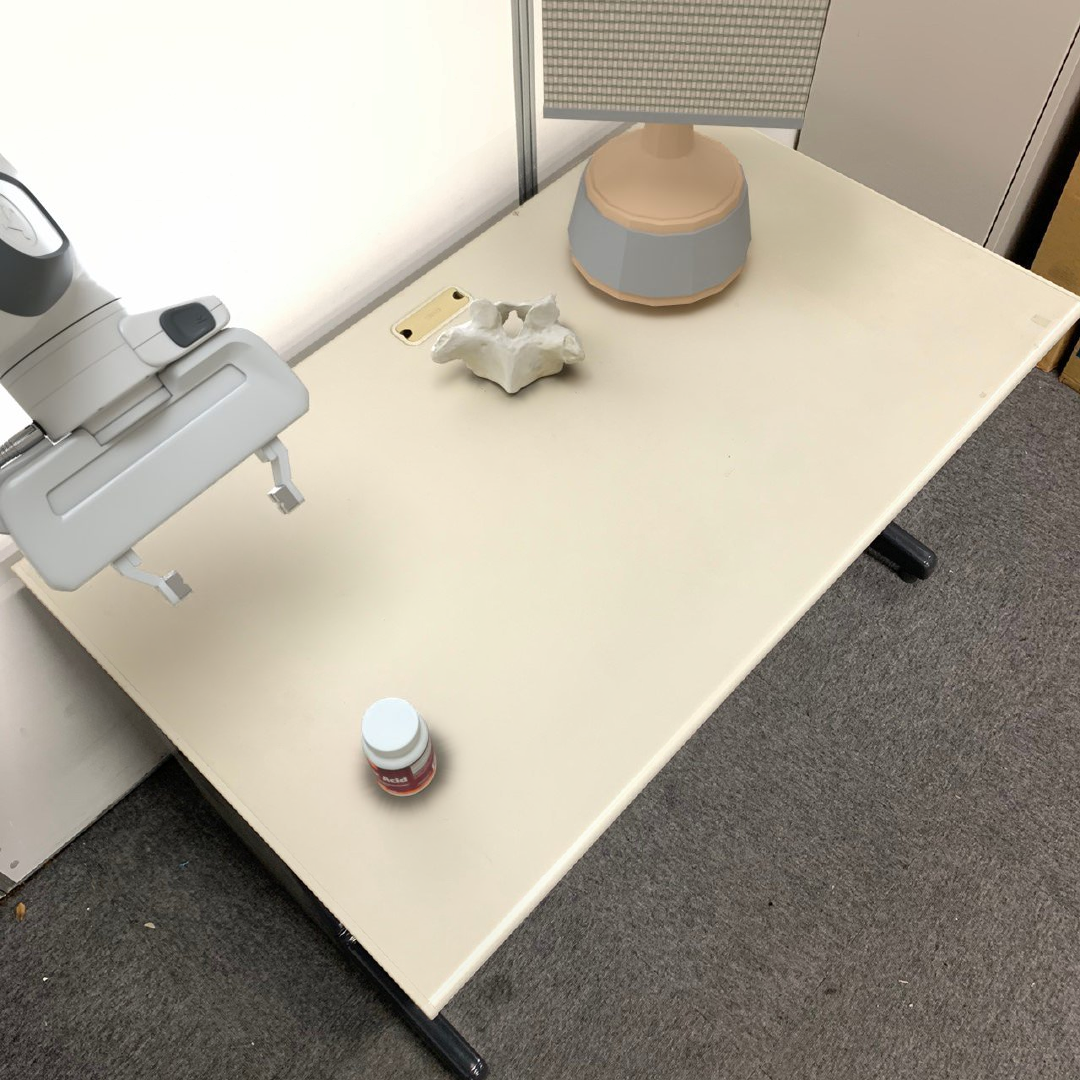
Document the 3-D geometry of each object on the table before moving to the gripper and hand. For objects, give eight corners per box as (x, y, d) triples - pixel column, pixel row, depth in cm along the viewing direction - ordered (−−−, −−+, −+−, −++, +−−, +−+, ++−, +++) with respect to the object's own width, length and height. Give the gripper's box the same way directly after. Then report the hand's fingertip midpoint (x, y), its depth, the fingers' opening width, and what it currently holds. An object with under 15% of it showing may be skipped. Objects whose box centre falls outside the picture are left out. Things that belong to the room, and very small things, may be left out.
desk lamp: (758, 205, 110) (831, -176, 80) (760, 327, 100) (845, -56, 69) (563, 195, 112) (561, -181, 82) (546, 315, 102) (536, -65, 71)
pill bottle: (362, 780, 75) (341, 737, 68) (396, 727, 77) (379, 680, 70) (416, 809, 74) (400, 768, 67) (449, 754, 76) (436, 709, 69)
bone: (580, 392, 97) (590, 342, 90) (440, 416, 95) (438, 367, 88) (558, 320, 101) (565, 266, 94) (422, 341, 99) (419, 288, 91)
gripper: (-57, 479, 54) (116, 664, 59) (237, 281, 63) (369, 457, 67) (-56, 485, 60) (102, 654, 64) (214, 302, 68) (337, 463, 73)
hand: (240, 552), depth 66 cm, fingers open, 8 cm apart
